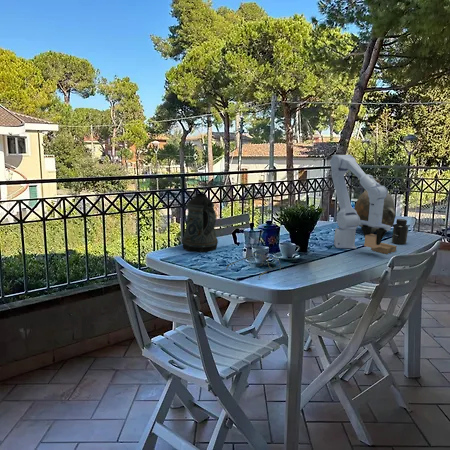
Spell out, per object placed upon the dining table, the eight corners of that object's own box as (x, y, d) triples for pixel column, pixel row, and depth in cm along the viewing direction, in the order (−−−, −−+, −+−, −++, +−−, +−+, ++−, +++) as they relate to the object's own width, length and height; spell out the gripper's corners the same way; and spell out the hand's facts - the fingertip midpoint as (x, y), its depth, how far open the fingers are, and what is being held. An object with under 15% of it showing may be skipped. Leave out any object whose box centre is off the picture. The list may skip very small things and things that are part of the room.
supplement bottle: (390, 243, 213) (393, 219, 210) (392, 240, 218) (395, 217, 216) (405, 245, 209) (408, 221, 207) (407, 242, 215) (409, 219, 213)
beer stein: (195, 241, 208) (195, 190, 202) (229, 247, 198) (231, 194, 193) (174, 248, 194) (174, 194, 189) (210, 255, 184) (211, 198, 179)
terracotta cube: (374, 248, 188) (375, 237, 187) (364, 246, 192) (365, 235, 191) (380, 246, 191) (381, 235, 190) (370, 244, 195) (371, 233, 194)
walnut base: (386, 255, 193) (387, 248, 192) (370, 251, 199) (371, 244, 198) (395, 252, 198) (396, 246, 197) (380, 248, 204) (380, 242, 203)
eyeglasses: (282, 272, 166) (283, 259, 165) (259, 281, 155) (259, 267, 154) (250, 263, 176) (250, 251, 175) (226, 271, 165) (226, 258, 164)
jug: (399, 232, 239) (405, 178, 232) (391, 239, 221) (397, 181, 215) (355, 226, 251) (359, 175, 245) (344, 232, 233) (349, 178, 227)
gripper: (395, 215, 185) (392, 245, 188) (366, 210, 196) (363, 238, 199) (387, 216, 181) (383, 247, 184) (357, 211, 192) (354, 240, 195)
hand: (372, 243), depth 191 cm, fingers closed on terracotta cube, 5 cm apart
